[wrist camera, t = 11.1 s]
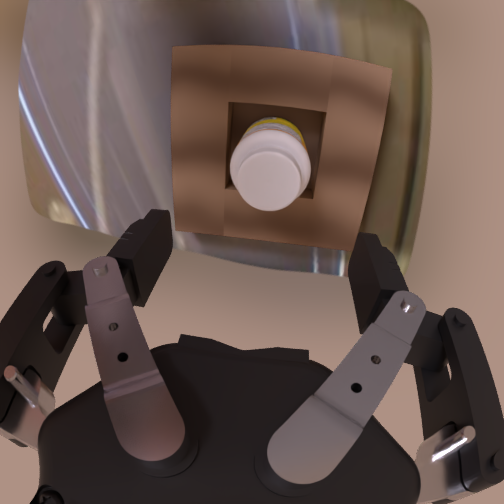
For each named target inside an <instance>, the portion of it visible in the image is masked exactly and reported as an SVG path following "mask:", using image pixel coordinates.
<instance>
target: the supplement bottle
mask: <svg viewBox="0 0 504 504" xmlns="http://www.w3.org/2000/svg"><path fill="white" fill-rule="evenodd" d="M230 174H231V178H232V181H233V183H234V185H235V187H236V189H237V190H238V191H239V193H240V195H241V196H242V198H243V199H244V200H245V201H246V202H247V203H248V204H249V205H251V206H252V207H254V208H256V209H259V210H263V211H276V210H280V209H283V208H285V207H287V206H288V205H290V204H291V203H292V202H293V201H294V200H295V199H296V198H297V197H299V196H300V195H301V193H302V192H303V191H304V190H305V188H306V186H307V184H308V182H309V179H310V174H311V165H310V159H309V156H308V152H307V148H306V146H305V143H304V139H303V136H302V134H301V132H300V130H299V129H298V128H297V127H296V126H295V125H294V124H293V123H292V122H291V121H289V120H287V119H285V118H282V117H277V116H269V117H264V118H261V119H259V120H257V121H255V122H254V123H253V124H252V125H251V126H250V127H249V128H248V129H247V131H246V132H245V134H244V135H243V137H242V138H241V140H240V141H239V143H238V145H237V146H236V148H235V150H234V152H233V155H232V158H231V162H230Z"/></svg>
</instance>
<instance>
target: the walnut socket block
mask: <svg viewBox="0 0 504 504" xmlns="http://www.w3.org/2000/svg"><path fill="white" fill-rule="evenodd" d="M391 77H392V69H390V68H386V67H382V66H379V65H375V64H371V63H367V62H363V61H359V60H354V59H350V58H345V57H340V56H335V55H329V54H323V53H317V52H311V51H304V50H296V49H287V48H278V47H266V46H249V45H190V46H174V47H172V72H171V154H172V181H173V200H174V216H175V229H176V231H184V232H193V233H202V234H211V235H220V236H229V237H238V238H246V239H255V240H264V241H272V242H280V243H289V244H297V245H305V246H313V247H321V248H329V249H337V250H345V251H353V248H354V245H355V241H356V238H357V235H358V231H359V228H360V224H361V220H362V217H363V213H364V209H365V206H366V202H367V198H368V194H369V190H370V186H371V182H372V178H373V173H374V169H375V165H376V160H377V156H378V151H379V146H380V141H381V136H382V131H383V126H384V120H385V115H386V109H387V103H388V97H389V91H390V84H391ZM269 116H277V117H282V118H285V119H287V120H289V121H291V122H292V123H293V124H294V125H295V126H296V127H297V128H298V129H299V130H300V132H301V134H302V136H303V139H304V143H305V146H306V148H307V152H308V156H309V159H310V165H311V174H310V179H309V182H308V184H307V186H306V188H305V190H304V191H303V192H302V193H301V195H300V196H299V197H297V198H296V199H295V200H294V201H293V202H292V203H291V204H290V205H288V206H287V207H285V208H283V209H280V210H276V211H263V210H259V209H256V208H254V207H252V206H251V205H249V204H248V203H247V202H246V201H245V200H244V199H243V198H242V196H241V195H240V193H239V191H238V190H237V189H236V187H235V185H234V183H233V181H232V178H231V174H230V162H231V158H232V155H233V152H234V150H235V148H236V146H237V145H238V143H239V141H240V140H241V138H242V137H243V135H244V134H245V132H246V131H247V129H248V128H249V127H250V126H251V125H252V124H253V123H254V122H255V121H257V120H259V119H261V118H264V117H269Z"/></svg>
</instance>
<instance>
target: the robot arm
mask: <svg viewBox="0 0 504 504" xmlns="http://www.w3.org/2000/svg"><path fill="white" fill-rule="evenodd" d="M172 247H173V239H172V228H171V217H170V212H169V211H168V210H158V209H151V210H150V211H149V213H148V214H147V215H146V216H145V218H144V219H139V220H138V221H136V222H134V223H133V224H131V225H130V226H129V228H128V229H127V230H126V231H125V233H124V234H123V235H122V236H121V239H119V240H118V241H117V243H116V244H115V245H114V246H113V248H112V249H111V250H110V252H109V253H108V254H107V256H102V257H97V258H95V259H93V260H91V261H89V262H88V263H87V264H86V265H85V266H84V268H83V270H80V271H69V272H67V270H66V267H65V265H64V263H62V262H61V261H51V262H48V263H45V264H44V265H42V266H41V267H40V268H39V269H38V270H37V271H36V272H35V274H34V275H33V276H32V278H31V279H30V280H29V282H28V283H27V285H26V286H25V287H24V288H23V290H22V292H21V293H20V294H19V296H18V297H17V298H16V300H15V301H14V303H13V304H12V306H11V307H10V308H9V310H8V311H7V313H6V314H5V316H4V318H3V319H2V321H1V323H0V435H2V436H3V437H5V438H7V439H9V440H10V441H12V442H13V443H15V444H16V445H18V446H20V447H28V446H29V447H31V448H33V449H35V450H37V451H38V454H39V465H40V479H39V487H38V490H37V493H36V495H35V496H34V498H33V500H32V501H31V502H30V504H425V503H430V502H431V503H433V504H447V503H450V502H453V501H456V500H459V499H462V498H464V497H467V496H470V495H472V494H475V493H477V492H479V491H482V490H484V489H487V488H489V487H491V486H493V485H495V484H498V483H500V482H501V481H503V480H504V418H503V414H502V410H501V406H500V402H499V398H498V394H497V391H496V387H495V384H494V380H493V377H492V374H491V371H490V367H489V364H488V362H487V359H486V356H485V353H484V350H483V347H482V344H481V342H480V339H479V337H478V334H477V331H476V329H475V326H474V324H473V322H472V320H471V318H470V317H469V316H468V315H467V314H466V313H465V312H464V311H462V310H460V309H458V308H449V309H447V311H446V312H445V313H444V315H443V316H441V315H438V314H435V313H432V312H429V311H426V306H425V304H424V302H423V301H422V299H420V298H419V297H418V296H417V295H415V294H414V293H412V292H409V290H408V287H407V285H406V282H405V280H404V277H403V275H402V273H401V271H400V268H399V266H398V265H397V261H396V259H395V257H394V255H393V254H392V253H391V252H390V251H389V250H388V249H387V248H386V247H382V245H381V243H380V241H379V238H378V236H377V235H376V234H371V233H363V232H359V233H358V235H357V238H356V242H355V245H354V248H353V252H352V255H351V258H350V261H349V266H348V277H349V281H350V285H351V290H352V295H353V300H354V304H355V310H356V314H357V320H358V326H359V331H360V334H363V335H362V336H361V338H360V339H359V340H358V342H357V343H356V344H355V345H354V347H353V348H352V349H351V351H350V352H349V353H348V354H347V356H346V357H345V358H344V359H343V361H342V362H341V363H340V364H339V366H338V367H337V368H336V369H335V370H334V372H333V371H331V370H330V369H328V368H327V367H325V366H324V365H322V364H320V363H317V362H315V361H312V360H309V350H303V349H290V348H280V347H274V348H265V349H255V350H240V349H237V348H234V347H232V346H229V345H226V344H224V343H221V342H218V341H216V340H213V339H208V338H202V337H196V336H190V335H184V334H181V335H180V338H179V341H178V343H172V344H165V345H161V346H158V347H156V348H153V349H151V350H149V347H148V345H147V342H146V340H145V337H144V335H143V333H142V330H141V327H140V325H139V322H138V319H137V317H136V314H135V311H134V309H133V306H139V307H144V306H145V304H146V302H147V300H148V298H149V296H150V294H151V292H152V290H153V288H154V286H155V284H156V282H157V280H158V278H159V276H160V274H161V272H162V270H163V268H164V266H165V264H166V263H167V261H168V259H169V257H170V255H171V252H172ZM50 311H51V312H52V314H53V317H52V319H51V320H50V322H49V324H48V325H47V328H46V329H45V331H44V332H43V323H44V321H45V319H46V317H47V316H48V314H49V312H50ZM85 324H88V327H89V332H90V337H91V341H92V346H93V350H94V354H95V358H96V362H97V366H98V370H99V374H100V378H101V381H100V382H98V383H97V384H95V385H94V386H92V387H90V388H89V389H87V390H86V391H84V392H82V393H81V394H79V395H77V396H76V397H74V398H73V399H71V400H69V401H68V402H66V403H65V404H63V405H62V406H60V407H58V408H56V409H54V408H55V397H54V394H53V392H54V389H55V387H56V385H57V382H58V379H59V377H60V375H61V373H62V370H63V368H64V366H65V364H66V362H67V359H68V357H69V355H70V353H71V351H72V349H73V347H74V344H75V343H76V341H77V339H78V336H79V334H80V332H81V330H82V328H83V327H84V325H85ZM403 362H404V363H408V364H411V365H413V368H414V373H415V378H416V384H417V390H418V396H419V403H420V410H421V418H422V427H423V436H424V442H422V444H421V445H420V446H419V448H418V450H417V456H416V459H415V461H413V459H412V458H411V457H410V456H409V455H408V454H407V452H406V451H405V450H404V449H403V448H402V447H401V446H400V445H399V444H398V443H397V442H396V440H395V439H394V438H393V437H392V436H391V435H390V434H389V433H388V432H387V430H386V429H385V428H384V427H383V426H382V425H381V424H380V423H379V422H378V420H377V419H376V418H375V417H374V416H373V415H372V414H373V413H374V411H375V410H376V408H377V407H378V405H379V403H380V401H381V400H382V399H383V397H384V395H385V394H386V392H387V390H388V389H389V387H390V385H391V384H392V382H393V380H394V379H395V377H396V375H397V373H398V371H399V370H400V368H401V366H402V364H403ZM448 363H449V365H450V369H451V374H452V375H451V380H450V376H449V372H448V368H447V364H448Z"/></svg>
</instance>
